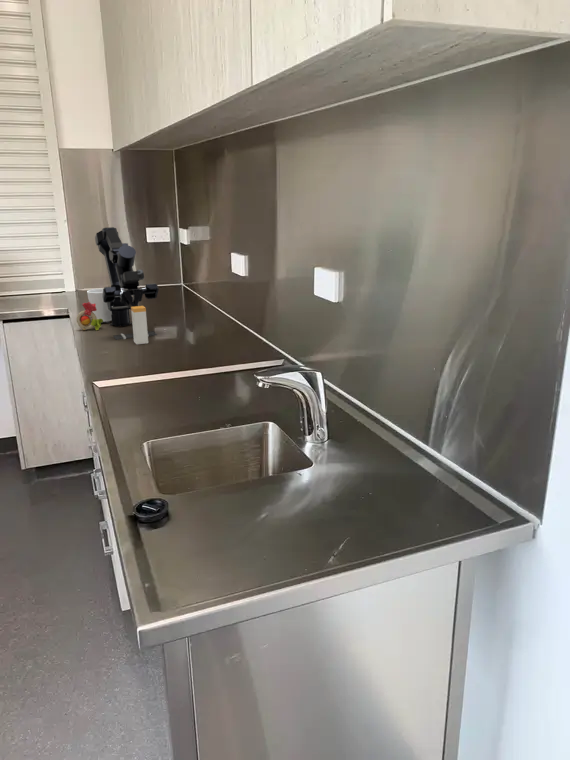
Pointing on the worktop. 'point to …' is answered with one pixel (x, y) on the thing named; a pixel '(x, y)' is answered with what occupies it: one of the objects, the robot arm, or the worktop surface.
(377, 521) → the worktop surface
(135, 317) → the orange-topped grey block
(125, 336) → the cord bundle
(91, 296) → the cup
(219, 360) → the worktop surface
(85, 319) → the bird rattle
